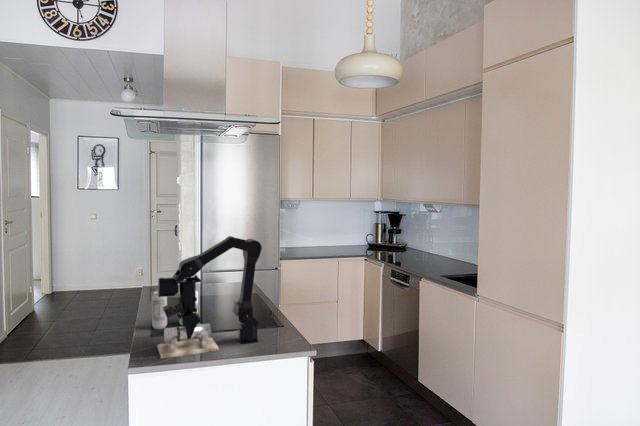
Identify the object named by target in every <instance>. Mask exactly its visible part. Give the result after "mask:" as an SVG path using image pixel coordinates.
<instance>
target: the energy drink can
mask: <svg viewBox="0 0 640 426" xmlns="http://www.w3.org/2000/svg"><path fill="white" fill-rule="evenodd" d="M166 305H168V296H167V297H158V290H157V291H153V293H152V296H151V327H153V328H152V329H154V330H162V329H163V330H164V329H165V328H167V325H168V318H167V317H166V314H165V312H164V310H163V307H164V306H166Z"/></svg>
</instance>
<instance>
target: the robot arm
mask: <svg viewBox="0 0 640 426" xmlns="http://www.w3.org/2000/svg"><path fill="white" fill-rule="evenodd" d="M262 247H263V246H262V244H261V242H259V241H258V240H255V239H254V238H247V239H243V238H237V237H234V236H230V235H228V236H227V237H226V238H225V239H223V240H221V241H219V242H218V243H216V244H215V245H212V246H211V247H210V248H208V249H207V250H205V251H202V252H201V253H200V254H198V255H197V254H196V255H194V256H190V257H187V258H185V259H183V260H181V261H180V262H179V265H178V269H177V270H176V271H175V273H174V274H173V276H172V277H159V278H158V282H157V291H158V297H167V298H168V297H175V296H176V295H177V294H178V293H179V296H178V297H177V300H176V301H173V302H171V303H169V304H167V305H166V306H164V307H163V310H164V312H165V314H166V317H167V319H168V318H171V317H172V316H174V315H177V317H178V319H179V318H180V319H181V323H182V324H183V325H182V326H185V328H186V334H187V338H188V339H190V338H191V337H192V334H193V332H194V330H195V328H196V326H197V325H199V324H202V323H201V322H202V321H201V320H202V319H201V316H200V314H199V313H198V314H197V313H193V312H197V309H196V301H197V298H196V291H197V287H196V286H197V284H196V283H202V280H201V278H199V276H198V275H197V273H199V272H200V271H201V270H202V269H203V267H205V266H206V264H208V263H211V261H213V260H215V259H216V258H218V257H220V256H221V255H223V254H225V253H226V252H228V251H229V250H232V249H237V250H241V251H242V255H243V263H244V264H243V271H242V278H241V287H240V294H239V299H238V301H233V306H234V307H233V310H232V312H233V314H234V316H235V319H237V321H239V323H240V324H239V328H238V330H237V332H238V333H237V334H238V338H237V339H238V340H239V342H240V343H241V344H251V343H257V342H259V341H260V340H259V339H258V327H259V324H260V321H259V320H257V319H256V318H255V317H254V309H253V308H254V307H253V303H252V297H253V288H254V280H255V272H256V265H257V262H258V260H259V258H260V256H261V253H262ZM179 313H180V314H179ZM190 340H191V339H190Z"/></svg>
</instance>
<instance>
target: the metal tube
mask: <svg viewBox="0 0 640 426" xmlns="http://www.w3.org/2000/svg"><path fill="white" fill-rule="evenodd" d="M163 330H164V331H163V332H164V333H163V336H164V337H163V338H164V344H165V343H168V342H170V338H174V337H176V338H177V342H181V341H188V340H196V339H198V338H202V334H206V333H208V338H212V337H211V335H212V327H211V323H209V322H208V323H198V324H197V326H196V328H195V330H194V332H193V334H192V337H191V338H190V339H188V338H187V334H186V328H185V326H183V325H182V326H175V327H165V328H163Z"/></svg>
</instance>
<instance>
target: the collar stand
mask: <svg viewBox="0 0 640 426" xmlns="http://www.w3.org/2000/svg"><path fill="white" fill-rule="evenodd" d="M157 350H158V352H159V357H160V359H169V358H174V357H175V358H176V357H181V356H182V357H183V356H187V355H189V356H190V355H195V354H203V353H210V352H209V351H211V352H216V350H218V351H219V346H218V345H217V343H216V342H215V340H214V339H213V337H208V333H206V334H202V338H198V339H190V340H183V341H177V338H176V337H174V338H170V342H167V343H165V342H164V343H160V344H157Z"/></svg>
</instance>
